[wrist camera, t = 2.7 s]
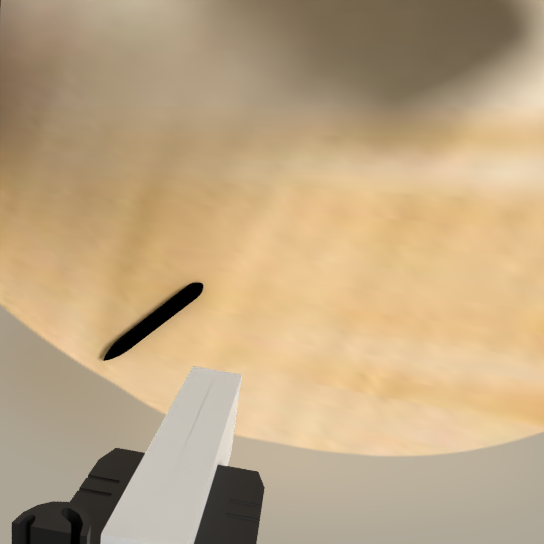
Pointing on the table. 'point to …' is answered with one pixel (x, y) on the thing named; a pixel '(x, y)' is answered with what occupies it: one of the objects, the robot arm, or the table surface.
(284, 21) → the table surface
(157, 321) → the pen
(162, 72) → the table surface
